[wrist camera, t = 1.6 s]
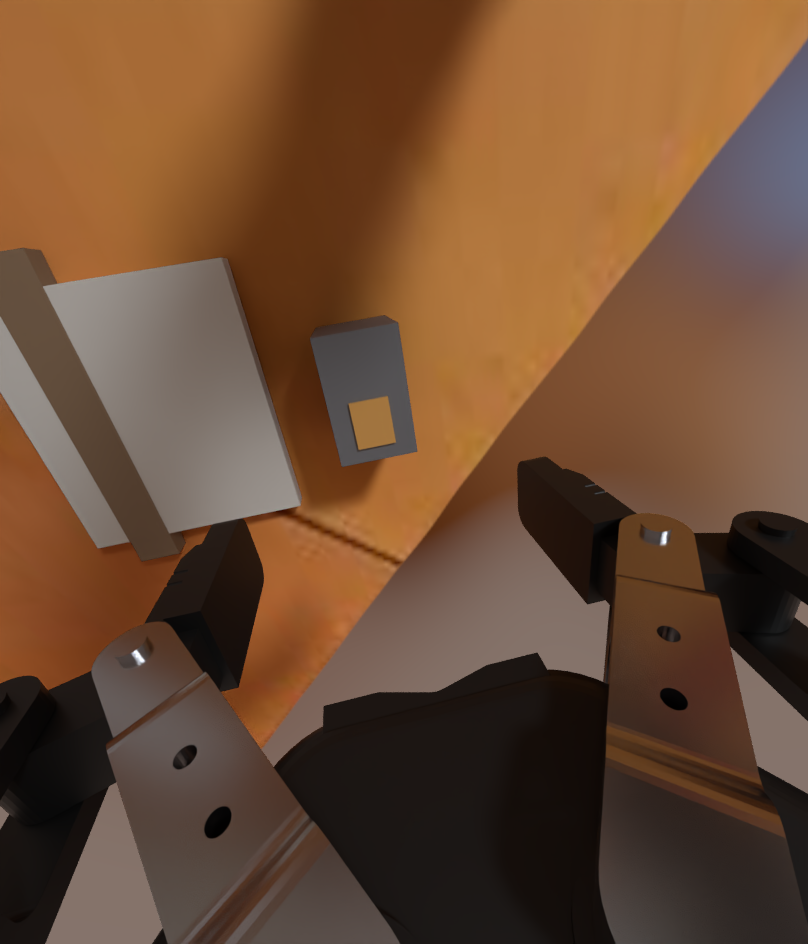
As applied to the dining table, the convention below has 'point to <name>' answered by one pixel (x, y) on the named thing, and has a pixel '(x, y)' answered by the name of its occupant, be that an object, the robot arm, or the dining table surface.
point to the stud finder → (365, 388)
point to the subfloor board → (143, 398)
